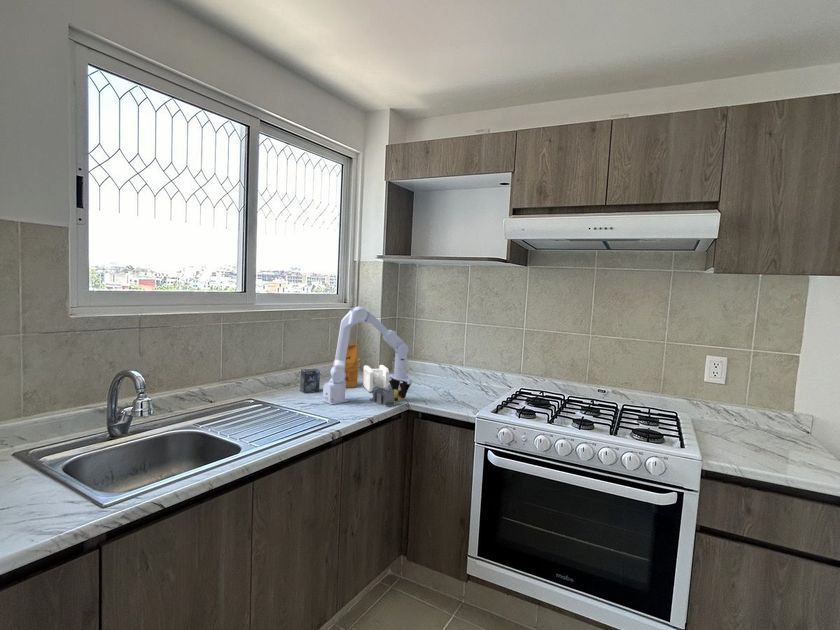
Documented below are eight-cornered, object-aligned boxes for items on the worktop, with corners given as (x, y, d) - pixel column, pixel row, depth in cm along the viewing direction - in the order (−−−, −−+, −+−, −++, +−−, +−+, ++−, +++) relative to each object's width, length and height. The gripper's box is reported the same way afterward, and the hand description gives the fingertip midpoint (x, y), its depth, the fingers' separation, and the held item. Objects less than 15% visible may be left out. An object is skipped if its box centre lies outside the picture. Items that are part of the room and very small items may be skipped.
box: (303, 393, 212) (304, 371, 211) (299, 390, 216) (300, 369, 216) (319, 391, 216) (320, 370, 216) (315, 389, 221) (315, 368, 220)
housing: (388, 407, 195) (389, 392, 195) (369, 400, 205) (370, 386, 205) (397, 405, 199) (398, 391, 198) (378, 398, 209) (378, 385, 208)
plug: (381, 404, 199) (381, 393, 199) (376, 402, 201) (376, 391, 201) (404, 400, 209) (405, 389, 208) (399, 398, 211) (400, 388, 211)
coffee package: (329, 384, 232) (331, 342, 230) (352, 383, 238) (354, 342, 236) (335, 389, 223) (337, 345, 221) (359, 387, 229) (360, 345, 227)
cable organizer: (388, 392, 221) (389, 369, 220) (367, 393, 218) (368, 370, 217) (381, 385, 235) (382, 364, 234) (361, 386, 232) (362, 364, 231)
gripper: (417, 369, 205) (416, 398, 206) (396, 364, 216) (395, 392, 216) (406, 371, 200) (404, 400, 201) (385, 365, 211) (384, 394, 212)
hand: (399, 396), depth 209 cm, fingers open, 5 cm apart
